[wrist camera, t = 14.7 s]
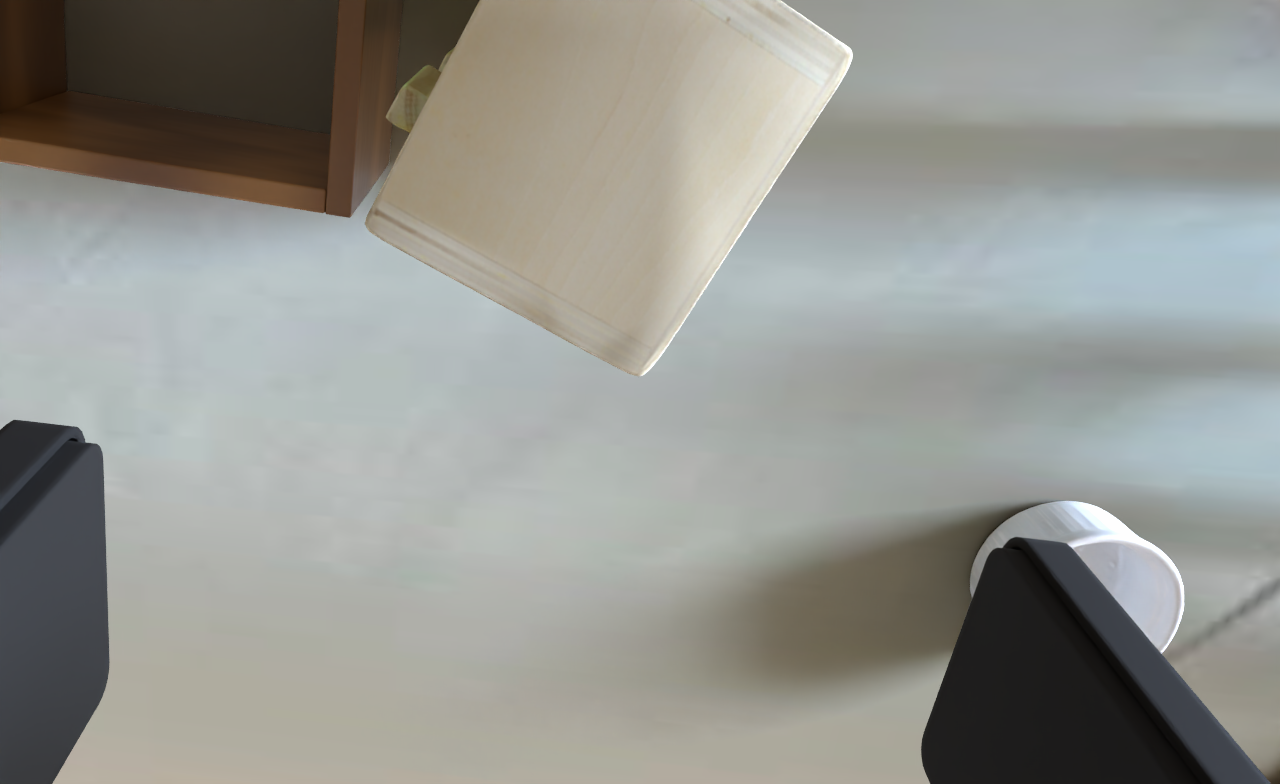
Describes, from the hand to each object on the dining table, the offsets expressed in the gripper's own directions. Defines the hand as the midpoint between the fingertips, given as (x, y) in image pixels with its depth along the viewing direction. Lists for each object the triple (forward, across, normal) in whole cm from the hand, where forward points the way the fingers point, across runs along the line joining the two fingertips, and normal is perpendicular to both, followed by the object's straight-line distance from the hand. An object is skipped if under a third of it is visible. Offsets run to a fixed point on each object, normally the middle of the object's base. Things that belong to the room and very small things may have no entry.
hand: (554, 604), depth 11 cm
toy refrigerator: (+32, 0, -3) cm, 32 cm away
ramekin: (+32, -27, +17) cm, 45 cm away
